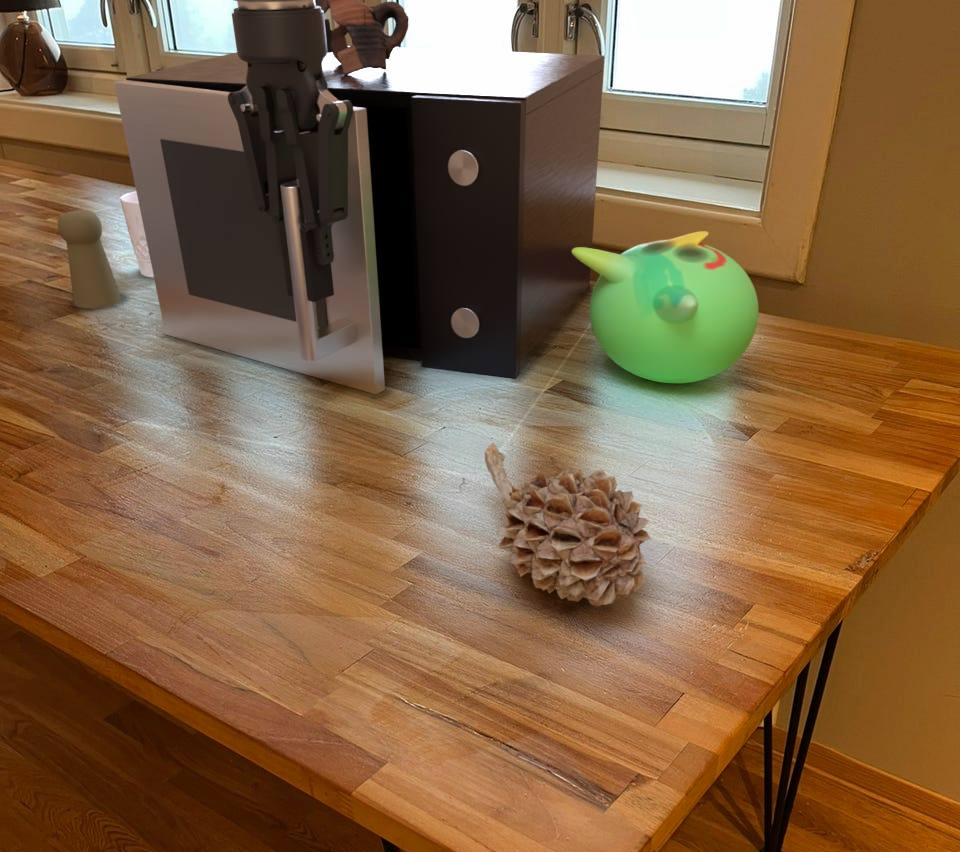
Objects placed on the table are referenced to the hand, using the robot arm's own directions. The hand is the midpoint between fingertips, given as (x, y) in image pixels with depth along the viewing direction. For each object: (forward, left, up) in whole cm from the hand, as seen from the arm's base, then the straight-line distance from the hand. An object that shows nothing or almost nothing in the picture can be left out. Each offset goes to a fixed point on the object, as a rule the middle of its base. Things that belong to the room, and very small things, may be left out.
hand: (311, 294), depth 93 cm
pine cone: (+30, -22, -12) cm, 39 cm away
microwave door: (-12, +6, -11) cm, 18 cm away
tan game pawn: (-43, +21, -12) cm, 49 cm away
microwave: (-5, +30, -11) cm, 32 cm away
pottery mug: (-7, +28, +15) cm, 33 cm away
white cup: (-42, +35, -12) cm, 56 cm away
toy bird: (+32, +19, -12) cm, 39 cm away
